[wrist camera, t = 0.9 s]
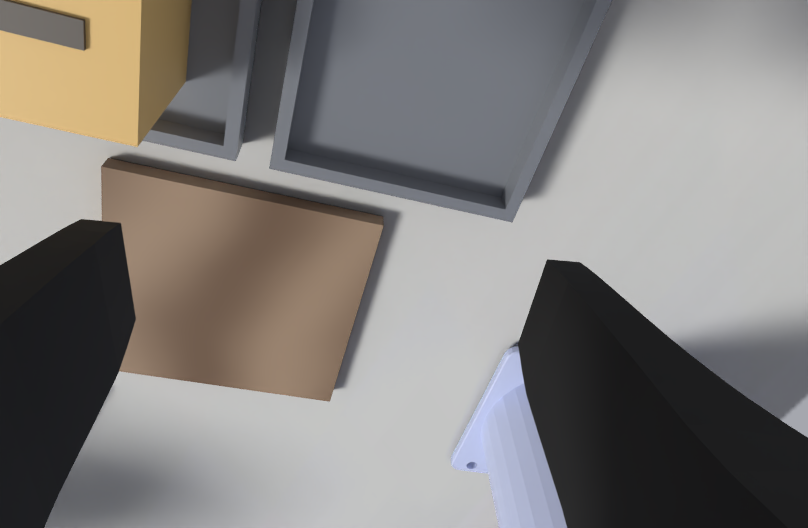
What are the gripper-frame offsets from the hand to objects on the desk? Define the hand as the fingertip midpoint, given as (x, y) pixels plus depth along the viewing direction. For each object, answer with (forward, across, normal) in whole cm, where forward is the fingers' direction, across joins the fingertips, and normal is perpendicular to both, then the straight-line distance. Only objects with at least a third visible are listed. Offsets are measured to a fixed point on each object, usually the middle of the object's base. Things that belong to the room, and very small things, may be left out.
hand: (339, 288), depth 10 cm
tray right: (+10, -2, -1) cm, 10 cm away
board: (+10, +4, +8) cm, 13 cm away
